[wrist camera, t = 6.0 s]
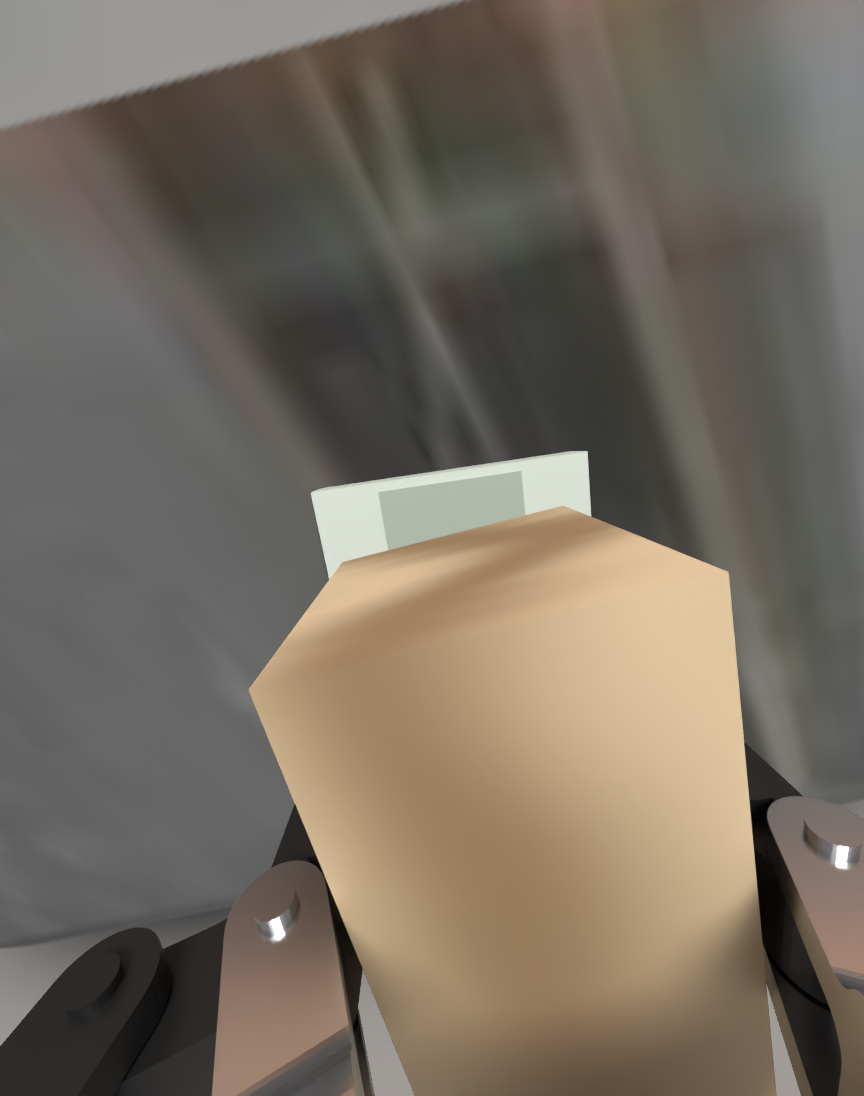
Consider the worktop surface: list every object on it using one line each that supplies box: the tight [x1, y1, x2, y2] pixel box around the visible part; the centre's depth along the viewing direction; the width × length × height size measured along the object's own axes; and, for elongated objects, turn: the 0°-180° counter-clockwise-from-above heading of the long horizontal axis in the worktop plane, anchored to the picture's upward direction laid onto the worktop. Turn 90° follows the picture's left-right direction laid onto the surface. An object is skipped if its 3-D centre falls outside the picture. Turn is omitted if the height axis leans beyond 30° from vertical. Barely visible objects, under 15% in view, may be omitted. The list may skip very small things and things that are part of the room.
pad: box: [311, 451, 591, 580], centre depth 20 cm, size 12×11×2 cm
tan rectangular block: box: [249, 506, 776, 1096], centre depth 8 cm, size 5×9×5 cm, turn 15°
